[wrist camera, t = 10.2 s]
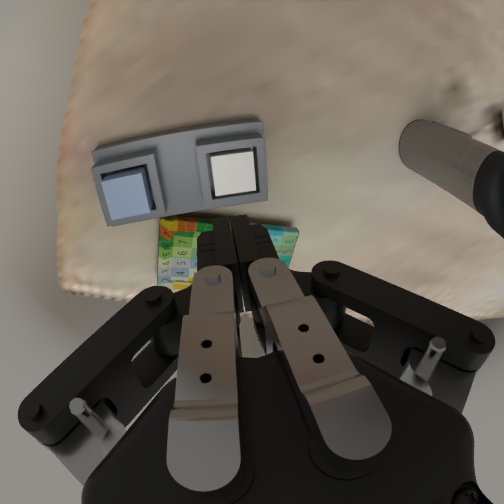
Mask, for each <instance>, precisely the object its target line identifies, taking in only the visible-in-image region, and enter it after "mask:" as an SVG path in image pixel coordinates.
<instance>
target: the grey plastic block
mask: <svg viewBox="0 0 504 504" xmlns="http://www.w3.org/2000/svg"><path fill="white" fill-rule="evenodd" d="M249 147H250V148H251V150H252V151H253V157H254V170H255V183H256V190H255V191H248V192H241V193H234V194H227V195H221V196H216V195H215V190H214V184H213V177H212V169H211V162H210V154H209V153H211V152H218V151H225V150H233V149H240V148H249ZM92 155H93V159H94V164H95V165H94V166H93V167H92V168H91V170H92V174H93V178H94V182H95V186H96V190H97V193H98V197H99V200H100V204H101V207H102V211H103V214H104V217H105V221H106V224H107V226H112V227H113V226H118V225H123V224H128V223H133V222H138V221H144V220H149V219H155V218H160V217H166V216H171V215H177V214H183V213H189V212H195V211H201V210H207V209H213V208H219V207H226V206H232V205H239V204H246V203H252V202H259V201H267V199H268V186H267V170H266V155H265V140H264V137H263V125H262V121H261V120H259V119H248V120H238V121H230V122H222V123H214V124H207V125H200V126H194V127H188V128H182V129H176V130H170V131H165V132H160V133H155V134H150V135H145V136H140V137H136V138H131V139H127V140H122V141H118V142H114V143H110V144H106V145H102V146H98V147H97V148H96V149H94V150H93V151H92ZM141 166H145V169H146V173H147V178H148V183H149V188H150V192H151V197H152V201H153V204H152V208H151V212H150V213H146V214H141V215H136V216H131V217H126V218H121V219H116V220H111V216H110V213H109V210H108V206H107V203H106V199H105V195H104V192H103V188H102V184H101V181H102V180H103V179H104V178H105V176H106V175H107V174H110V173H114V172H118V171H123V170H127V169H132V168H137V167H141Z"/></svg>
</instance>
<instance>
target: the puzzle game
mask: <svg viewBox="0 0 504 504" xmlns="http://www.w3.org/2000/svg"><path fill="white" fill-rule="evenodd" d="M229 222H230V221H229ZM249 224H250V225H254V224H258V223H249ZM261 225H263V226H264V227H265V228H267V230H268V232H269V235H270V237H271V239H272V242H273V244H274V247H275V249H276V252H277V254H278V257H279V259H280V260H282V261H284V262H285V263H286V264H287V266H288V267H289V264H290V261H291V257H292V254H293V251H294V248H295V244H296V241H297V238H298V234H299V231H298V229H297V228H294V227H287V226H278V225H268V224H261ZM230 227H231V224H230ZM212 230H213V224H212V219H206V218H195V217H179V216H166V217H160V228H159V245H158V269H157V286H165V287H168V288H170V289H185V288H187V287H188V286H190V285H191V284H192V281H193V277H194V275H195V274H196V272H197V238H198V236H199V235H200V233H201V232H205V231H212ZM241 292H242V291H241Z"/></svg>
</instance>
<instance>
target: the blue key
mask: <svg viewBox="0 0 504 504" xmlns="http://www.w3.org/2000/svg"><path fill="white" fill-rule="evenodd" d="M101 184H102V188H103V192H104V195H105V199H106V203H107V206H108V210H109V213H110V216H111V220H116V219H121V218H126V217H131V216H136V215H141V214H146V213H150V212H151V208H152V204H153V201H152V197H151V192H150V188H149V183H148V178H147V173H146V169H145V166H141V167H137V168H132V169H127V170H123V171H118V172H114V173H110V174H107V175H106V176H105V178H104V179H103V180H102V181H101Z"/></svg>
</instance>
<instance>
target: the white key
mask: <svg viewBox="0 0 504 504" xmlns="http://www.w3.org/2000/svg"><path fill="white" fill-rule="evenodd" d="M209 154H210V162H211V169H212V177H213V184H214V190H215V195H216V196H221V195H227V194H234V193H241V192H248V191H255V190H256V183H255V170H254V157H253V151H252V150H251V148H250V147H249V148H240V149H233V150H225V151H218V152H211V153H209Z"/></svg>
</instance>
